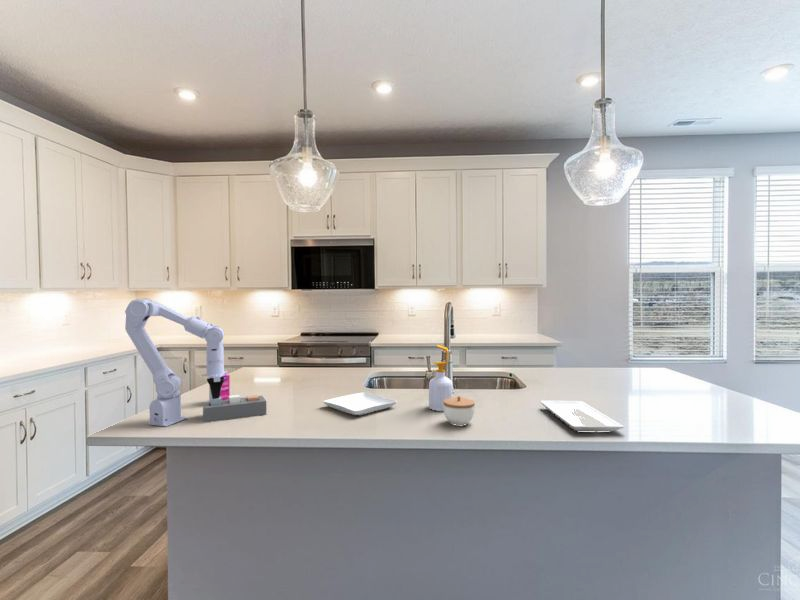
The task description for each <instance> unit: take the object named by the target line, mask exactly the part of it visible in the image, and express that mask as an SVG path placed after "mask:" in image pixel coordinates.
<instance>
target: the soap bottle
mask: <svg viewBox="0 0 800 600" xmlns="http://www.w3.org/2000/svg"><path fill="white" fill-rule="evenodd" d="M435 347H436V348H439V349H442V350H443V351H445V352H446V361H435V362H434V365H436V366H437V368H438V369H436V373H435V374H436V375H435V376H434V377H432V378H431V379H430V380H429V381H428V382H429V383H428V409H430V410H431V409H432V410H431V411H434V410H436V412H444V404H443V401H444V400H445V399H447V398H453V382H452V380H451V379H450V378H449V377H447V376H446V370H445V369H444V367H445V365H447V364H448V363H449V361H450V359H449V353H450V352H449V351H450V350H449V348H448V347H446V346H443V345H440V344H436V346H435Z"/></svg>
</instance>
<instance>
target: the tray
mask: <svg viewBox="0 0 800 600" xmlns="http://www.w3.org/2000/svg"><path fill="white" fill-rule="evenodd" d="M539 402H540V403H541V404H542V406H543V407H545V408H546V410H548V411H549V412H550V411H551V412H550V413H552V414H553V415H554V414H555V415H554V416H555V417H557V418H558V419H559V418H560V419H559V420H560V421H562V422H563V421H564V422H565V423H564V422H563V423H564V424H566V425H567V426H568V425H569V426H568V427H569V428H571V429H572V428H573V429H574V430H573V429H572V430H573V431H575V430H576V431H611V432H615V431H618V430H621V429H623V428H624V429H625V426H624V425H622V424H621V423H619V422H618V421H615V420H614V419H612V418H611V417H609V416H607V415H606V414H604V413H602V412H601V411H599V410H597V409H596V408H594V407H592V406H591V405H590V404H587V403H586V402H584V401H582V400H539ZM574 409H575V411H576V409H577V410H578V409H579V410H580V411H582V412H584V413H585V414H587V415H589V416H591V417H593V418H594V419H596V420H598V421H600V422H601V423H603V424H604V425H606V426H585V425H583V424H582V423H581V421H580V419H579V417H580V418H581V416H579V417H578V416H576V415H575V414H574V415H575V416H574V415H573V414H572V412H573V413H574ZM576 413H577V412H576ZM583 418H584V417H583ZM581 419H582V418H581ZM584 419H585V418H584ZM576 431H575V432H576Z"/></svg>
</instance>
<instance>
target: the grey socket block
mask: <svg viewBox="0 0 800 600" xmlns="http://www.w3.org/2000/svg"><path fill="white" fill-rule="evenodd" d="M257 396H258V397H259V400H258V401H249V402H247V396H246V397H240V403H232V404H229V399H227V400H222V405H214V406H210V401H203V402H202V418H203V423H204V422H205V423H211V421H213V422H218V421H219V422H220V420H221V421H227V420H235V418H236V419H242V418H243V417H244V418H249V417H250V416H251V417H257V416H258V415H259V416H265V415H267V400H266V399H265V398H264V396H263V395H257Z"/></svg>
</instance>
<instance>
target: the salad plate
mask: <svg viewBox="0 0 800 600" xmlns="http://www.w3.org/2000/svg"><path fill="white" fill-rule="evenodd" d="M397 403H398V401H397V400H395V399H393V398H388V397H385V396H382V395H377V394H374V393H370V392H365V391H364V392H363V391H362V392H358V393H357V392H356V393H352V394H346V395H342V396H337V397H333V398H329V399H326V400H323V404H324V405H326V406H327V407H330V408H332V409H335V410H336V411H340V412H343V413H345V414H348V413H349V414H348V415H351V414H352V415H351V416H356V415H359V416H364V415H367V413H368V414H371V413H370V412H372V413H375V412H374V411H376V412H379V411H378V410H380V411H383V410H386V409H389V408H392V407H393V406H395V405H396V404H397ZM382 409H383V410H382ZM363 414H364V415H363Z"/></svg>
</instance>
